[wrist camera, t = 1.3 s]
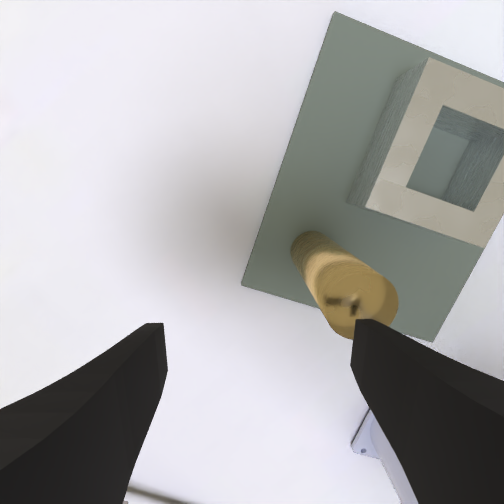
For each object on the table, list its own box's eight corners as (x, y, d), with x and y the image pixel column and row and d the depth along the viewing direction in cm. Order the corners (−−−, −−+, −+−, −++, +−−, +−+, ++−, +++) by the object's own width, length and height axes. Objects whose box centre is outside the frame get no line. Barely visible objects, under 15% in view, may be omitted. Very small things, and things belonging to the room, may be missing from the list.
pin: (338, 238, 20) (411, 284, 11) (322, 276, 21) (379, 347, 12) (299, 225, 20) (342, 263, 11) (284, 264, 20) (314, 328, 12)
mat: (555, 108, 18) (562, 107, 18) (429, 339, 23) (432, 342, 22) (332, 15, 17) (334, 11, 16) (241, 283, 21) (241, 285, 21)
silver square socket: (506, 122, 18) (559, 111, 15) (447, 237, 20) (484, 248, 17) (396, 78, 17) (429, 57, 14) (345, 202, 19) (365, 206, 16)
